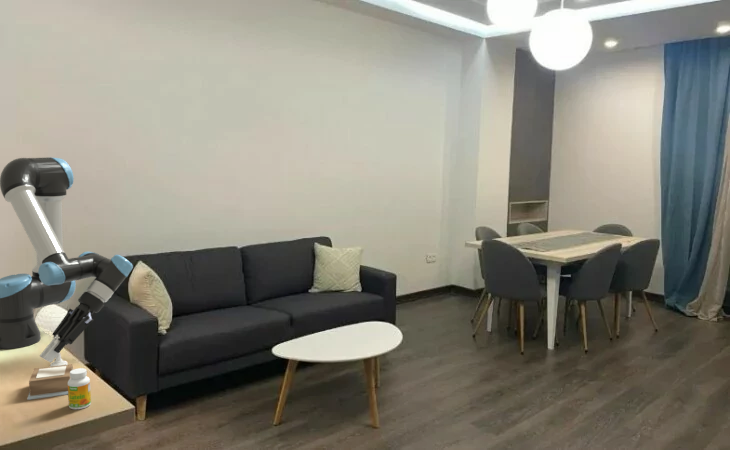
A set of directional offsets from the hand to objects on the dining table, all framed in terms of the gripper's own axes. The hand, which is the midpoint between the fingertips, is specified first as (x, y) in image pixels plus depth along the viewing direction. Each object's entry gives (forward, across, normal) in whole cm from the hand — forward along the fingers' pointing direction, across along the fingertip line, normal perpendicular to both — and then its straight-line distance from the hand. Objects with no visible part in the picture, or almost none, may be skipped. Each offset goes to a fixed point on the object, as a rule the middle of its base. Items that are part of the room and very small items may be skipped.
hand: (45, 359), depth 182 cm
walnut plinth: (+6, -17, +1) cm, 18 cm away
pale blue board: (+5, -14, 0) cm, 15 cm away
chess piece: (0, 0, -5) cm, 5 cm away
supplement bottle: (+6, -34, +1) cm, 34 cm away
